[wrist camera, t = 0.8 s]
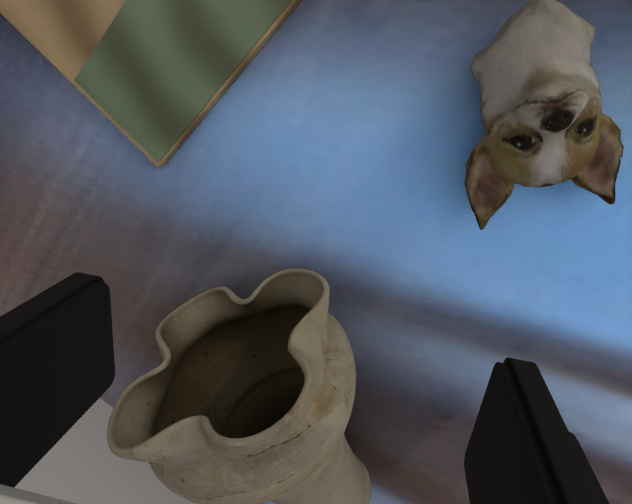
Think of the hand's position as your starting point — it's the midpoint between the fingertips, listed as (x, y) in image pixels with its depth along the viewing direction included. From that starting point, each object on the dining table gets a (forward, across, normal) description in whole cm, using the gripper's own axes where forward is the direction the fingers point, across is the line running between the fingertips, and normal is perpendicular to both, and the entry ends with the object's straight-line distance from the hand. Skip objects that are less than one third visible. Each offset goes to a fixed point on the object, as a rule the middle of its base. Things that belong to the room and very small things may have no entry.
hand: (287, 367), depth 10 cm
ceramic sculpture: (+29, -11, -5) cm, 31 cm away
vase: (+29, +4, +24) cm, 37 cm away
